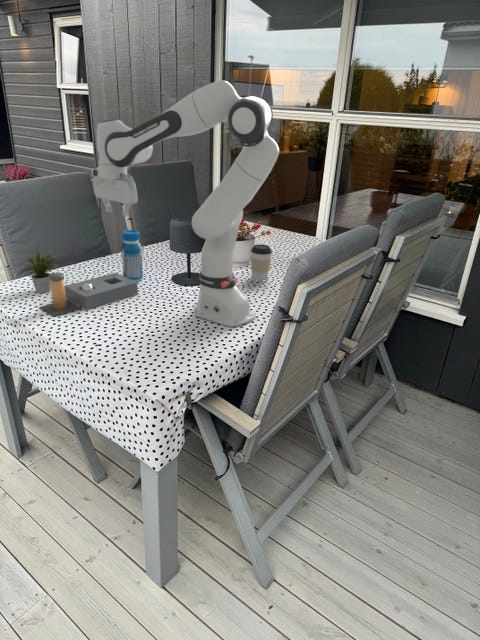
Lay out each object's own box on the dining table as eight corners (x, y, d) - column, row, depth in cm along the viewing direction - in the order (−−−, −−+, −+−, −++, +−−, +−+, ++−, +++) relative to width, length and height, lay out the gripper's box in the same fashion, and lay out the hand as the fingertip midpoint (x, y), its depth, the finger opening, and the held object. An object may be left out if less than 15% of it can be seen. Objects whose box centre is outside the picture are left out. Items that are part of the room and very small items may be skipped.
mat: (81, 309, 158) (80, 307, 158) (54, 317, 151) (54, 315, 151) (66, 300, 164) (65, 299, 164) (39, 308, 157) (39, 306, 157)
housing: (116, 284, 181) (115, 272, 179) (137, 294, 173) (137, 282, 171) (65, 298, 166) (64, 285, 164) (86, 310, 158) (85, 296, 156)
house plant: (48, 301, 163) (42, 258, 156) (14, 296, 165) (7, 253, 158) (69, 287, 175) (65, 247, 168) (37, 283, 178) (31, 243, 171)
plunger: (89, 295, 167) (88, 281, 165) (95, 298, 165) (94, 284, 163) (81, 298, 165) (79, 284, 162) (86, 301, 163) (85, 286, 160)
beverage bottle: (131, 284, 183) (129, 235, 174) (118, 278, 187) (115, 231, 179) (147, 279, 189) (146, 232, 180) (134, 274, 193) (131, 228, 185)
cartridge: (70, 307, 158) (66, 275, 153) (57, 311, 154) (53, 278, 149) (63, 303, 160) (59, 271, 155) (50, 307, 157) (45, 274, 152)
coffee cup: (270, 276, 200) (272, 243, 194) (269, 283, 192) (272, 249, 186) (249, 274, 201) (252, 242, 194) (248, 281, 193) (250, 247, 186)
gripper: (140, 174, 147) (143, 217, 152) (104, 169, 159) (108, 208, 164) (124, 176, 142) (128, 219, 148) (88, 170, 154) (93, 211, 160)
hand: (117, 214), depth 156 cm, fingers open, 8 cm apart
